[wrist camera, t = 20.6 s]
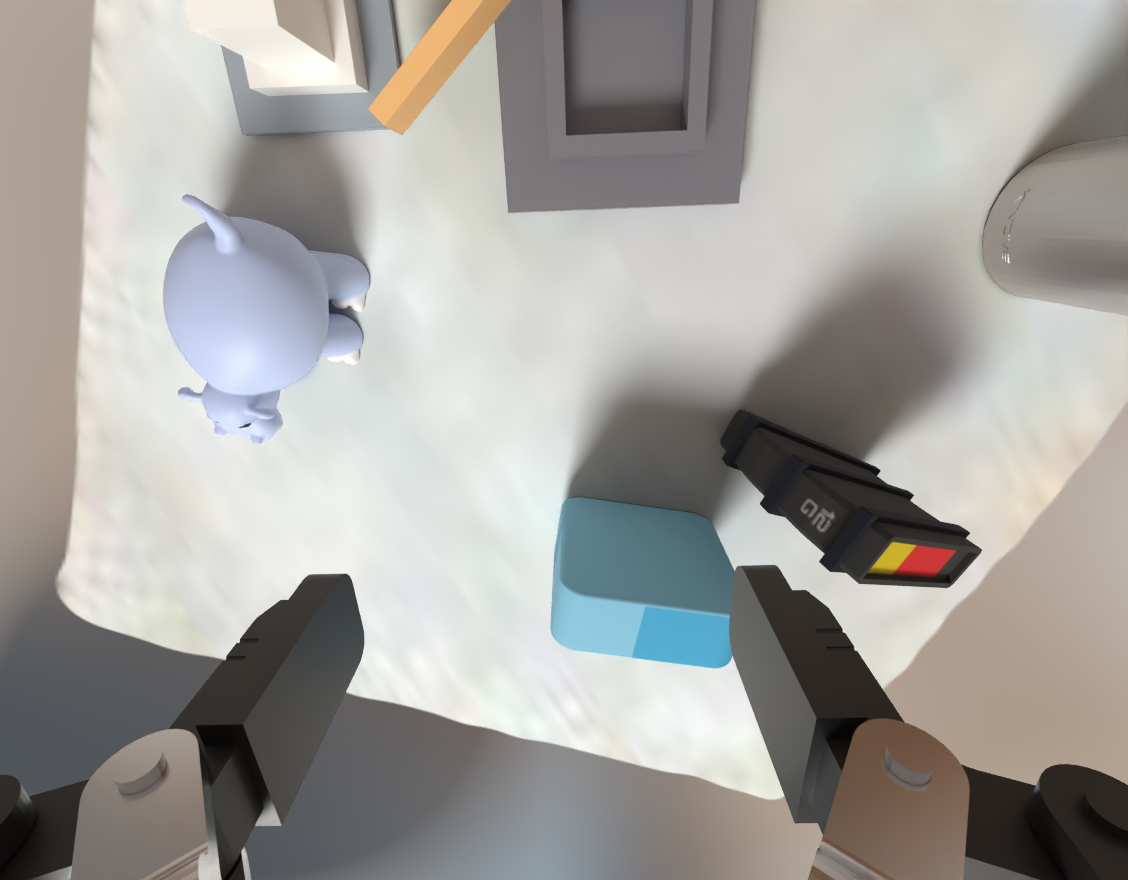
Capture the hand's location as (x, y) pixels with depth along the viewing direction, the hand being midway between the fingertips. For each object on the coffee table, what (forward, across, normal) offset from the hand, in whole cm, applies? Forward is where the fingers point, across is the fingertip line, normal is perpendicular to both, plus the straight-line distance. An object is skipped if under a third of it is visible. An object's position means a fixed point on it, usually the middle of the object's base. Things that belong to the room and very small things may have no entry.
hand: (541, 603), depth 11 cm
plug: (+28, +14, -18) cm, 36 cm away
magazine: (+28, -18, +10) cm, 35 cm away
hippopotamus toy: (+28, +19, -2) cm, 34 cm away
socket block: (+28, -4, -15) cm, 32 cm away
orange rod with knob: (+24, +3, -17) cm, 29 cm away
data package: (+28, -5, +16) cm, 33 cm away
